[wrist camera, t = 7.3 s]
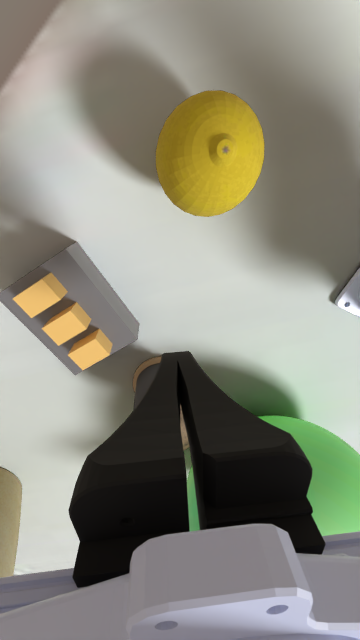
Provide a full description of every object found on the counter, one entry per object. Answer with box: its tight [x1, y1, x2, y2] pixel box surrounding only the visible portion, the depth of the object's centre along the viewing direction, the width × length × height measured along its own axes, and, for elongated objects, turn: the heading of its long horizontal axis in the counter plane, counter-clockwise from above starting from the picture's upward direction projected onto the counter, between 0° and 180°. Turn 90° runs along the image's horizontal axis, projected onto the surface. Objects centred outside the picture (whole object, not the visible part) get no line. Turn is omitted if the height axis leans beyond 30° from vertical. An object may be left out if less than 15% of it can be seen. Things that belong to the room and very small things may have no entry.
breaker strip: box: [0, 242, 139, 375], centre depth 19 cm, size 8×6×4 cm
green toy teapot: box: [187, 416, 360, 536], centre depth 24 cm, size 18×17×15 cm
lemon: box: [156, 91, 264, 217], centre depth 14 cm, size 6×6×8 cm
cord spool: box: [133, 356, 189, 451], centre depth 22 cm, size 6×6×6 cm
